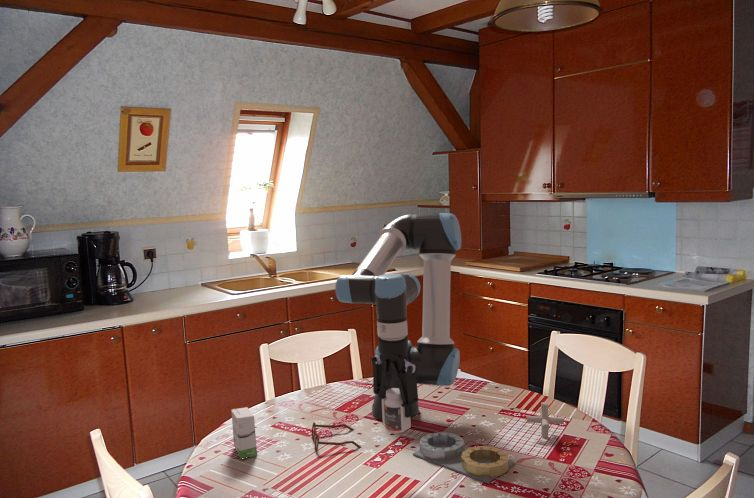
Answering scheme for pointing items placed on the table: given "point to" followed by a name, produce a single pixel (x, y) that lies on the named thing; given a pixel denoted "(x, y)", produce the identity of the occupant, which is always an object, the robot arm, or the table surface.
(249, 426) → the ink box
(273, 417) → the table surface
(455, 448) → the grey socket
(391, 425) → the pill bottle
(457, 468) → the slate board
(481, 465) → the brass socket
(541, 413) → the pipe connector
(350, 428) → the glasses
